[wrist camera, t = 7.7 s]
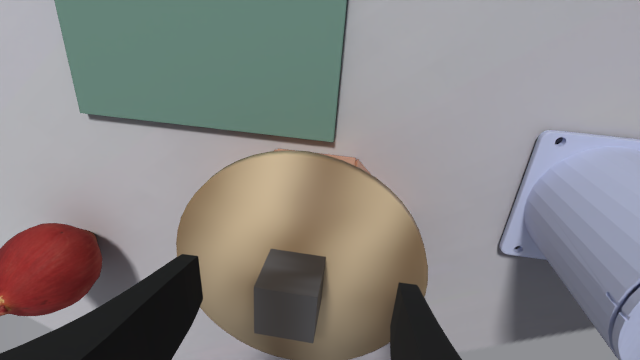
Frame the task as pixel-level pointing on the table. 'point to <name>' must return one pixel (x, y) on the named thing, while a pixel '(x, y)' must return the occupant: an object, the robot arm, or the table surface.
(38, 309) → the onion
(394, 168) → the table surface
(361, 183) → the lid
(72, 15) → the mat
